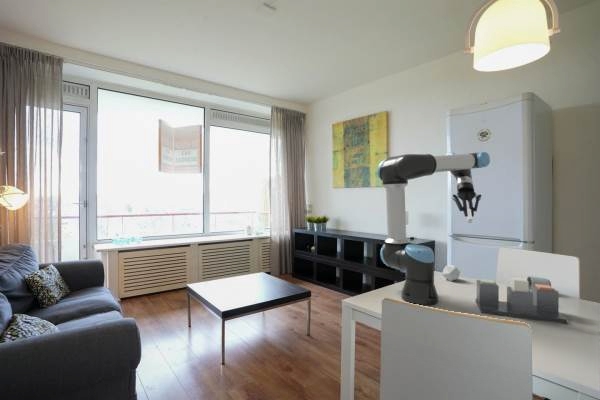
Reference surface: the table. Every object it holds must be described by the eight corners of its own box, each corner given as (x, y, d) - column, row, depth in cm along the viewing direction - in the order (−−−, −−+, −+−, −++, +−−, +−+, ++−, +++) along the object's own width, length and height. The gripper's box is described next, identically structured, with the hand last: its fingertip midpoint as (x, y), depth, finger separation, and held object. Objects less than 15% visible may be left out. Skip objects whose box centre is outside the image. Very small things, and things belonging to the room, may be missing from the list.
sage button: (482, 302, 120) (482, 281, 120) (480, 299, 124) (480, 279, 124) (494, 303, 118) (494, 283, 118) (492, 300, 122) (492, 280, 122)
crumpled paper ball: (462, 283, 155) (464, 267, 160) (450, 276, 153) (452, 260, 158) (450, 285, 162) (451, 269, 167) (438, 278, 160) (440, 262, 165)
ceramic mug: (552, 295, 134) (552, 279, 134) (531, 293, 137) (531, 278, 137) (542, 289, 143) (542, 274, 143) (523, 288, 146) (523, 273, 146)
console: (481, 312, 114) (481, 288, 114) (475, 301, 126) (475, 279, 126) (567, 323, 104) (567, 297, 104) (551, 310, 116) (551, 286, 116)
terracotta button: (539, 309, 113) (539, 287, 113) (535, 305, 117) (535, 284, 117) (553, 310, 111) (553, 288, 111) (548, 306, 115) (548, 285, 115)
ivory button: (514, 302, 111) (514, 280, 111) (510, 299, 115) (511, 277, 115) (528, 304, 109) (528, 281, 109) (524, 300, 113) (524, 278, 113)
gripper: (478, 191, 153) (485, 226, 137) (450, 192, 158) (453, 225, 142) (480, 181, 148) (487, 215, 132) (451, 181, 153) (455, 215, 137)
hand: (470, 220), depth 137 cm, fingers closed
